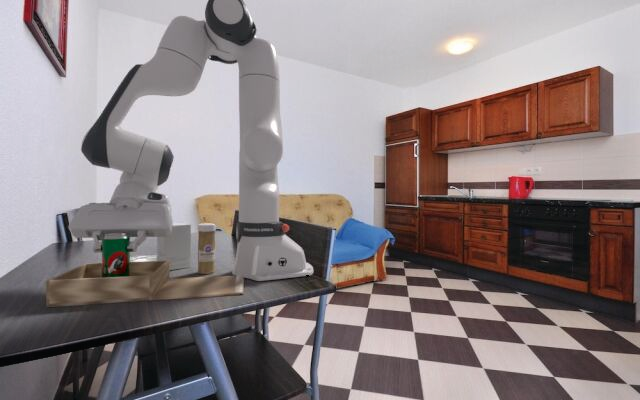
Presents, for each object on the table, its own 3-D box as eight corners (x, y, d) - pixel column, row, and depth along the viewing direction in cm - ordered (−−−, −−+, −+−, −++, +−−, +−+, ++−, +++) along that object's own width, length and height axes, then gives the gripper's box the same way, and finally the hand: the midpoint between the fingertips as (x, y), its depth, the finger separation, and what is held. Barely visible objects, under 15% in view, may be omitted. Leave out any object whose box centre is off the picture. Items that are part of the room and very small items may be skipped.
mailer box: (243, 276, 78) (243, 257, 78) (243, 294, 64) (243, 271, 64) (85, 284, 69) (85, 263, 69) (46, 307, 56) (46, 280, 55)
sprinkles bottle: (202, 275, 78) (202, 225, 78) (194, 272, 81) (195, 223, 81) (218, 272, 81) (218, 224, 81) (210, 269, 85) (210, 222, 84)
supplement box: (191, 267, 87) (191, 224, 86) (164, 271, 81) (164, 226, 81) (182, 262, 92) (182, 222, 92) (156, 266, 87) (156, 223, 86)
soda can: (135, 285, 66) (135, 232, 66) (116, 292, 61) (116, 234, 61) (115, 284, 67) (115, 231, 67) (95, 291, 62) (95, 234, 62)
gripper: (77, 193, 68) (50, 243, 59) (174, 195, 73) (163, 241, 64) (87, 211, 73) (64, 260, 63) (177, 212, 78) (168, 257, 68)
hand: (114, 250), depth 64 cm, fingers closed on soda can, 5 cm apart
